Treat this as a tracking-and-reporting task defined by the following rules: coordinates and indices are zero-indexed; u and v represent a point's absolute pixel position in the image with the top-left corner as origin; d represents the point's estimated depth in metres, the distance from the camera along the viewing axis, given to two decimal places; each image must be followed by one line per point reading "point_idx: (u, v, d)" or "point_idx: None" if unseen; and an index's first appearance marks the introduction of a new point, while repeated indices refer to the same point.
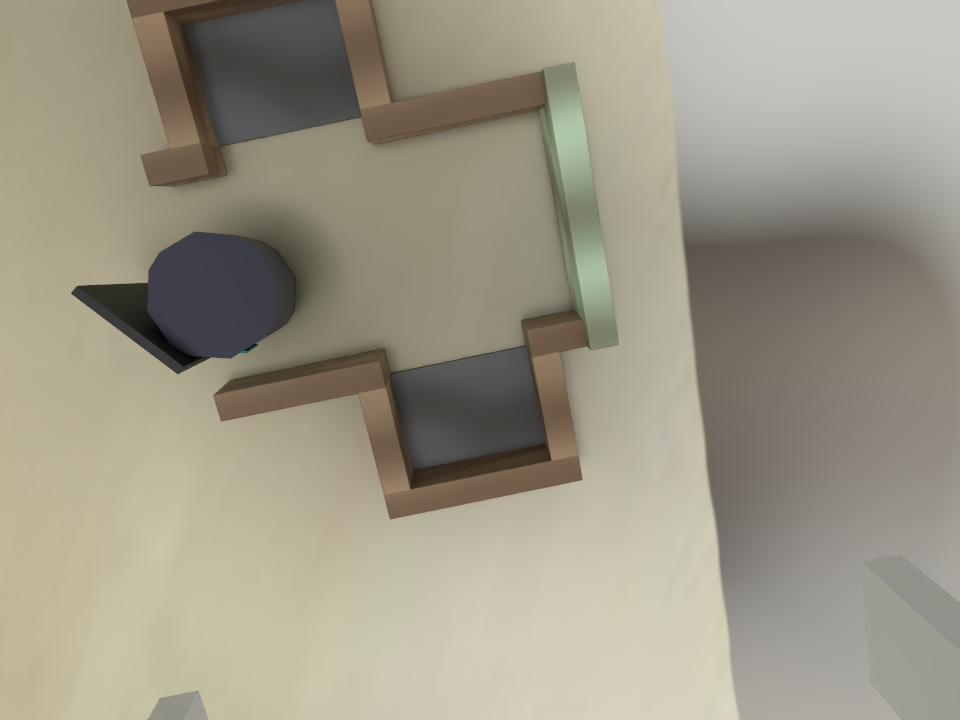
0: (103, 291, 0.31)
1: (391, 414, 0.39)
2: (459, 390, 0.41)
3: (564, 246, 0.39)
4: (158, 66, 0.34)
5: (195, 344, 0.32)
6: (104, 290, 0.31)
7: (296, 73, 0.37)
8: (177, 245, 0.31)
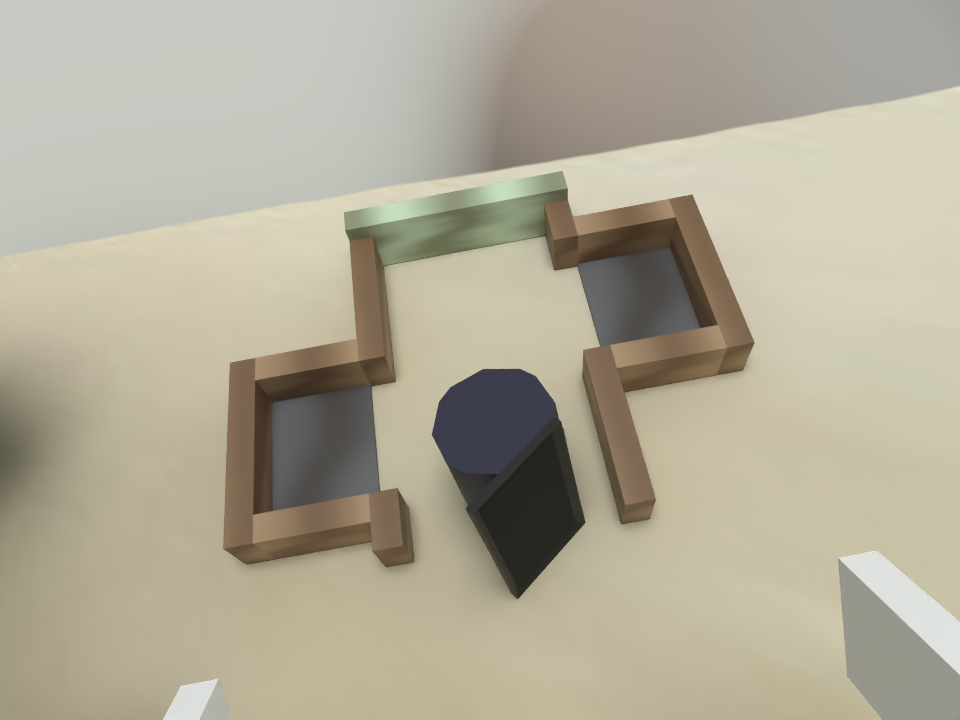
0: None
1: (637, 340, 0.39)
2: (621, 313, 0.44)
3: (489, 236, 0.47)
4: (296, 524, 0.36)
5: None
6: None
7: (328, 440, 0.41)
8: (443, 449, 0.32)
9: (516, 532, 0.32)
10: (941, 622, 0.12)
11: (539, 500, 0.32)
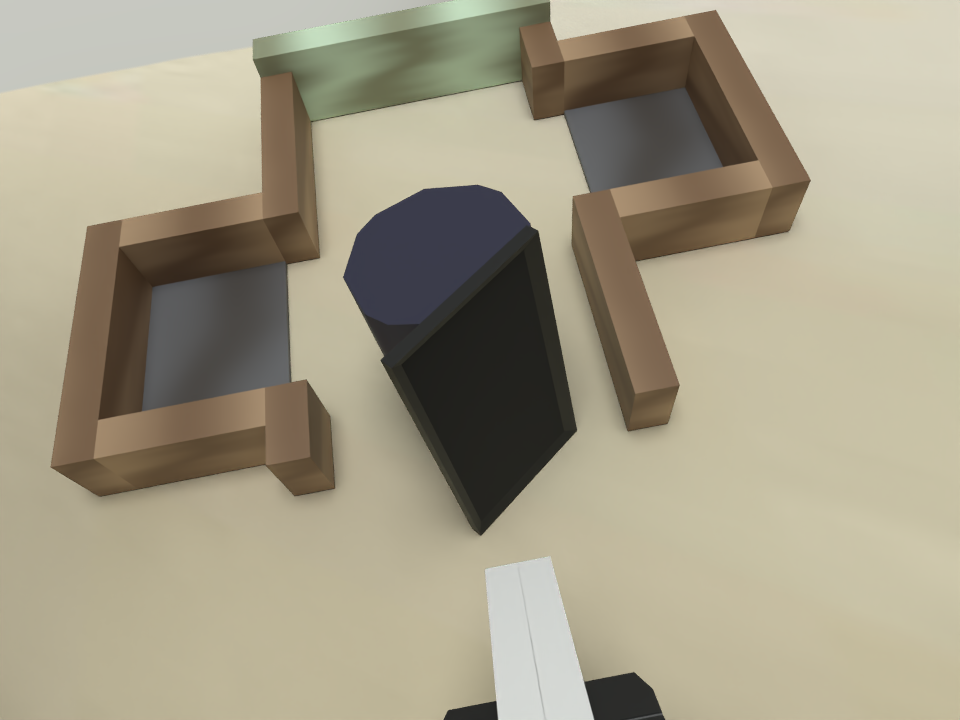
0: None
1: (648, 182, 0.28)
2: (623, 166, 0.33)
3: (448, 79, 0.36)
4: (159, 431, 0.25)
5: None
6: None
7: (225, 333, 0.30)
8: (358, 295, 0.21)
9: (473, 424, 0.21)
10: (553, 617, 0.14)
11: (507, 375, 0.21)
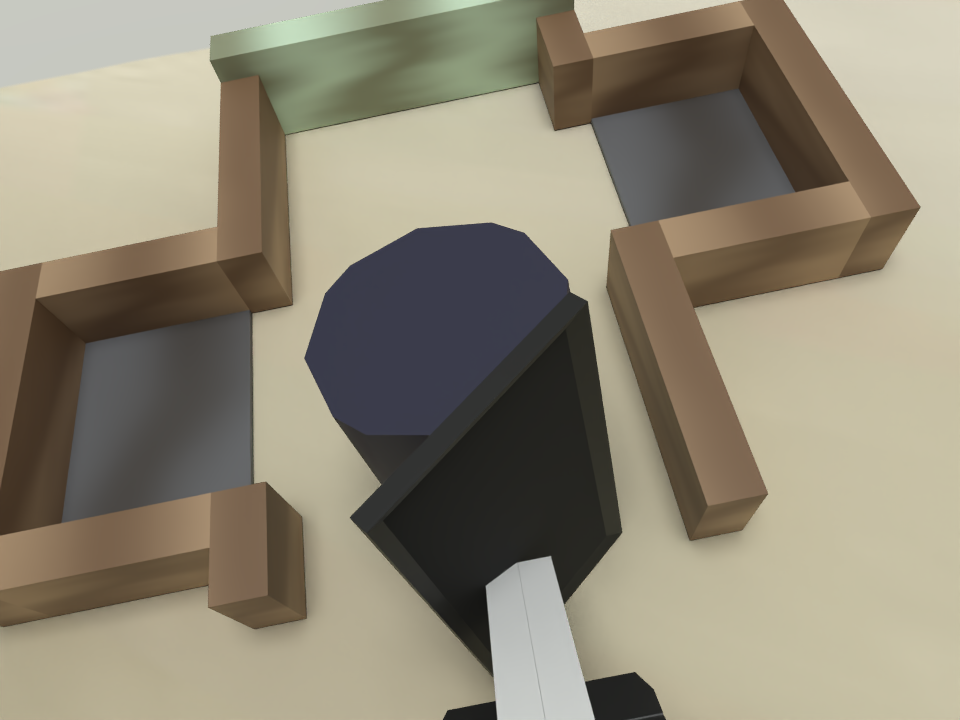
0: None
1: (707, 211, 0.22)
2: (667, 186, 0.26)
3: (449, 81, 0.29)
4: (69, 554, 0.19)
5: None
6: None
7: (172, 403, 0.24)
8: (325, 386, 0.14)
9: (490, 563, 0.15)
10: (553, 617, 0.14)
11: (538, 493, 0.15)
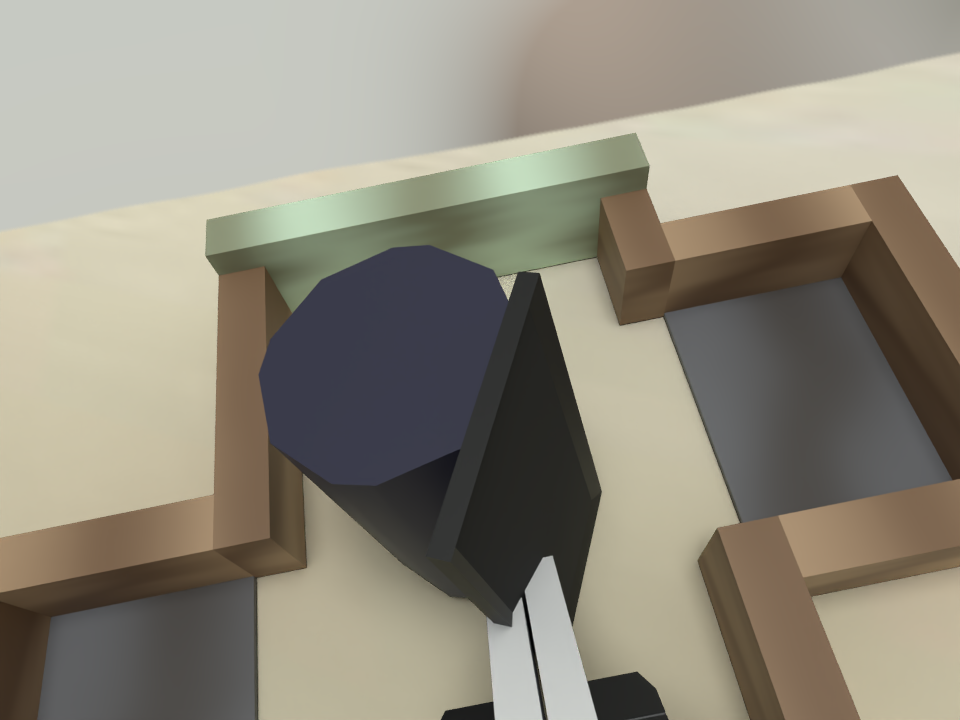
0: None
1: (840, 504, 0.17)
2: (764, 416, 0.22)
3: (492, 261, 0.25)
4: None
5: (494, 332, 0.14)
6: None
7: (157, 713, 0.19)
8: (307, 459, 0.14)
9: (529, 559, 0.15)
10: (555, 617, 0.14)
11: (544, 475, 0.15)
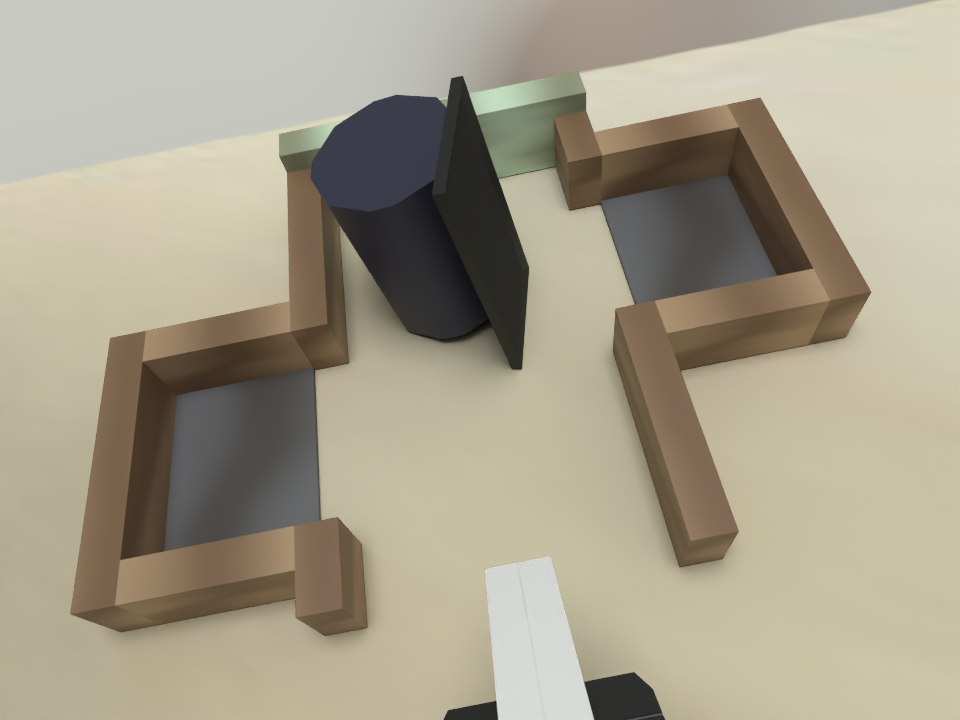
0: None
1: (695, 293, 0.27)
2: (665, 263, 0.31)
3: None
4: (183, 574, 0.23)
5: (443, 124, 0.25)
6: None
7: (251, 447, 0.29)
8: (352, 206, 0.24)
9: (486, 256, 0.26)
10: (553, 618, 0.14)
11: (486, 211, 0.26)
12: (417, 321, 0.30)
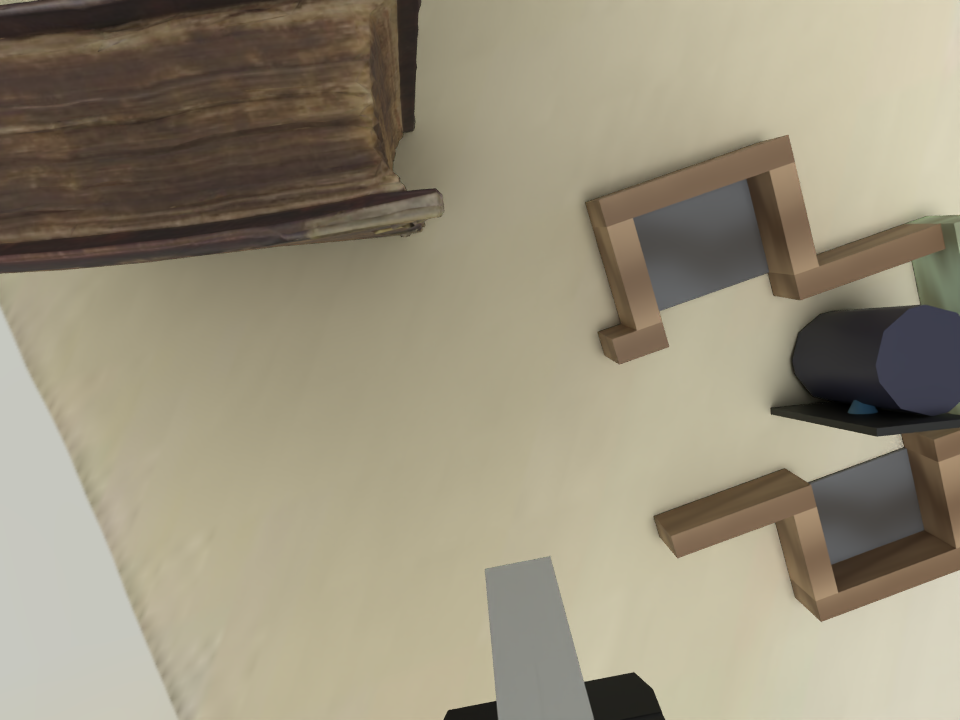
0: (860, 422, 0.36)
1: (821, 529, 0.43)
2: (851, 495, 0.46)
3: None
4: (628, 263, 0.39)
5: (946, 401, 0.36)
6: (854, 422, 0.37)
7: (708, 245, 0.42)
8: (881, 350, 0.36)
9: None
10: (553, 618, 0.14)
11: None
12: (805, 347, 0.43)
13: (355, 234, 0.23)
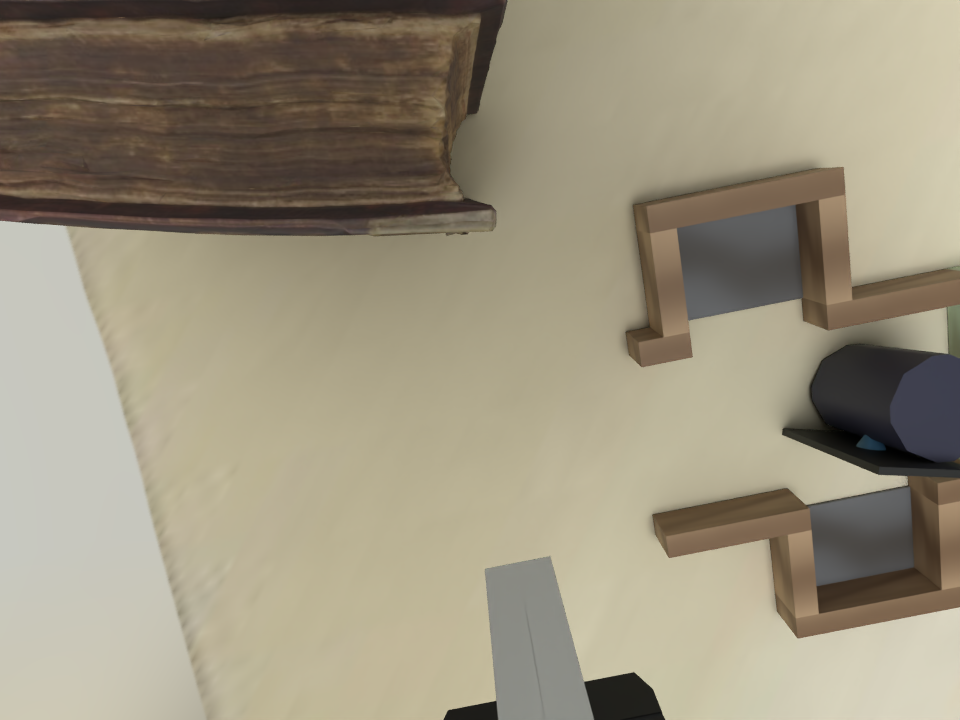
0: (865, 458, 0.38)
1: (812, 552, 0.45)
2: (847, 523, 0.47)
3: None
4: (665, 271, 0.40)
5: (953, 450, 0.37)
6: (860, 457, 0.38)
7: (747, 263, 0.43)
8: (897, 392, 0.37)
9: None
10: (552, 618, 0.14)
11: None
12: (826, 375, 0.44)
13: None
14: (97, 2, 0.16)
